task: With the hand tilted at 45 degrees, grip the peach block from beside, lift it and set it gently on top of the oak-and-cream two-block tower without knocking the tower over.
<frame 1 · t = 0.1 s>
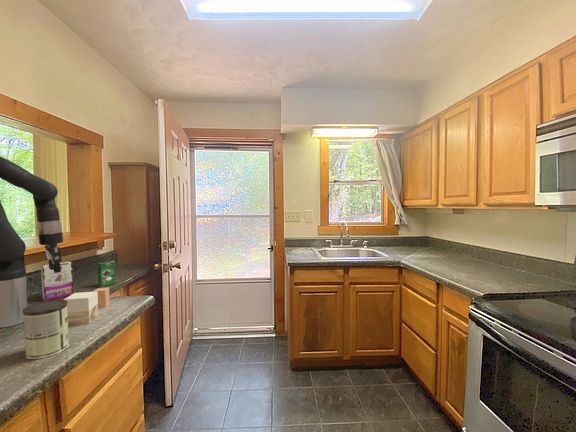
hand: (55, 270, 115), 17 cm above the worktop, tool pointing down, fingers open, 8 cm apart
cream tower block: (81, 308, 108), point 5 cm above the worktop, touching oak tower block
coffee can: (47, 351, 86), on the worktop
coffee box: (107, 286, 154), on the worktop
oak tower block: (82, 320, 108), on the worktop, touching cream tower block
candy bar box: (58, 297, 135), on the worktop
peach block: (102, 306, 123), on the worktop
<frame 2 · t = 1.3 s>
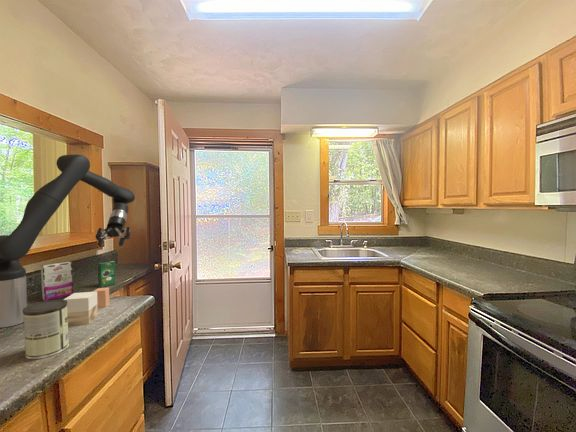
hand: (110, 245, 133), 25 cm above the worktop, tool tilted 45°, fingers open, 8 cm apart
nothing on the worktop moved.
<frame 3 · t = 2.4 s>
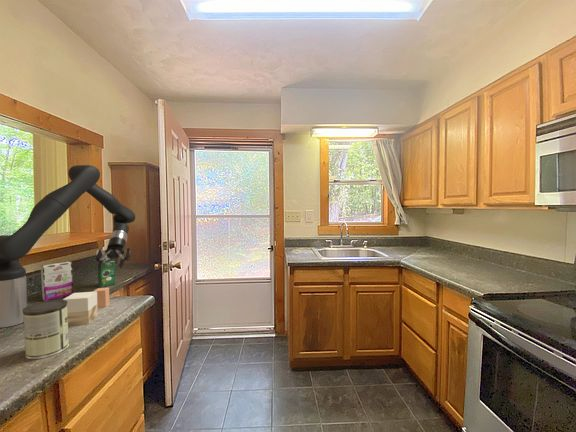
hand: (110, 267, 134), 14 cm above the worktop, tool tilted 45°, fingers open, 8 cm apart
nothing on the worktop moved.
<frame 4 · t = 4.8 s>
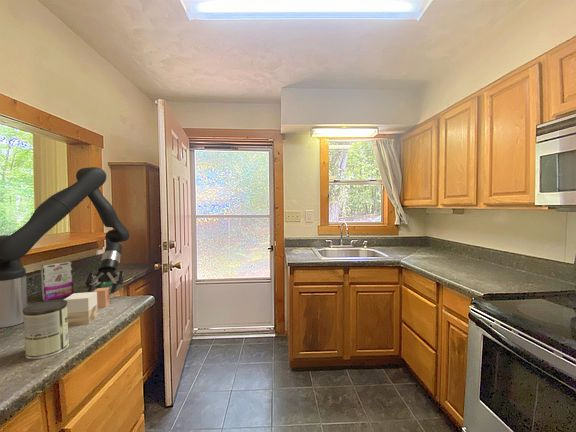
hand: (101, 293, 123), 6 cm above the worktop, tool tilted 45°, fingers open, 8 cm apart
nothing on the worktop moved.
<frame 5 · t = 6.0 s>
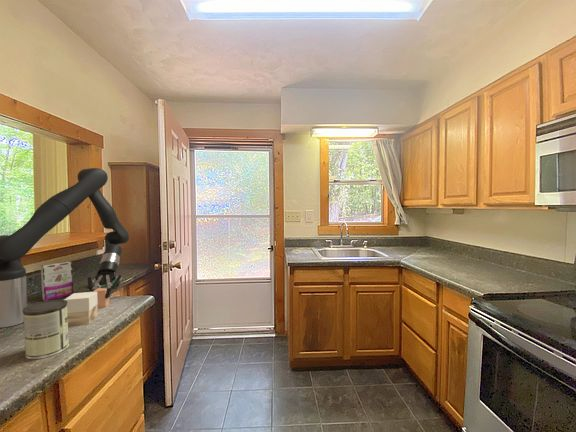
hand: (99, 298, 121), 4 cm above the worktop, tool tilted 45°, fingers closed on peach block, 4 cm apart
peach block: (101, 305, 123), on the worktop, touching gripper
everything else where it was.
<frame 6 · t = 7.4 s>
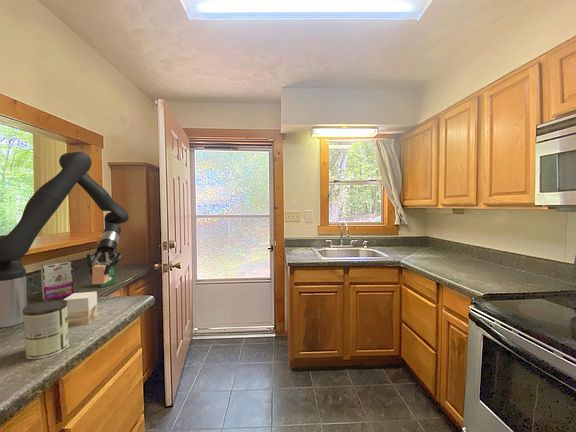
hand: (98, 274, 121), 15 cm above the worktop, tool tilted 45°, fingers closed on peach block, 4 cm apart
peach block: (100, 282, 123), point 10 cm above the worktop, touching gripper
everything else where it was.
when the fingers open (16 cm above the worktop, at t = 10.4 s): peach block drops 2 cm, resting on cream tower block.
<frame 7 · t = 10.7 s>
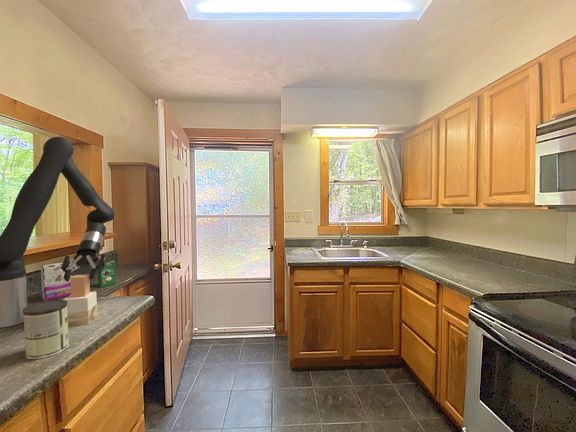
hand: (78, 279, 106), 16 cm above the worktop, tool tilted 45°, fingers open, 7 cm apart
cream tower block: (80, 308, 107), point 5 cm above the worktop, touching oak tower block, peach block
peach block: (80, 295, 107), point 10 cm above the worktop, touching cream tower block
everything else where it was.
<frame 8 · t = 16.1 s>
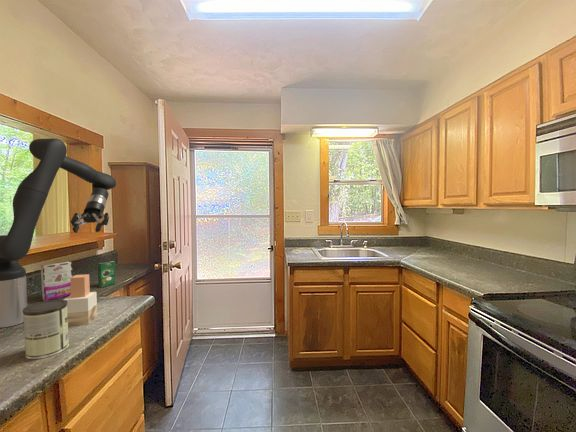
hand: (86, 231, 125), 33 cm above the worktop, tool tilted 45°, fingers open, 8 cm apart
nothing on the worktop moved.
at the end: peach block 0.2 cm off-centre on the oak tower block, point 10.0 cm above the oak tower block's base; cream tower block 0.1 cm off-centre on the oak tower block, point 5.0 cm above the oak tower block's base; oak tower block moved 0.4 cm from its start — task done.
